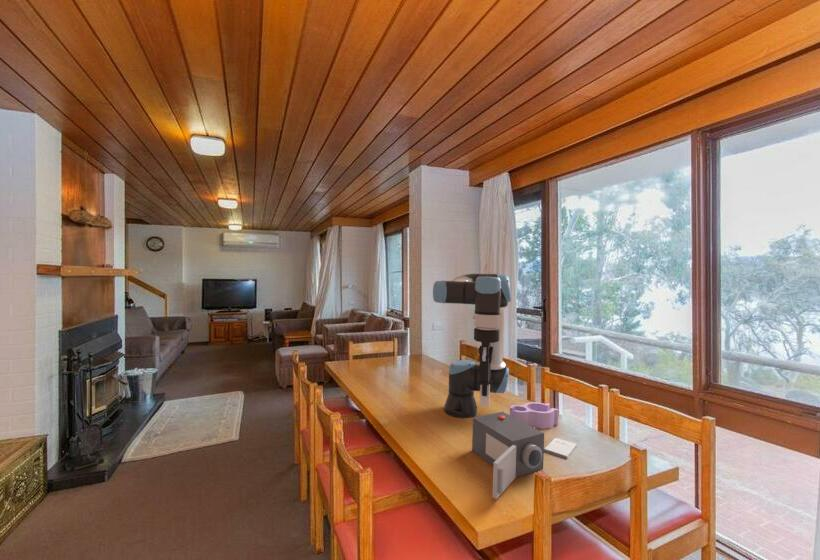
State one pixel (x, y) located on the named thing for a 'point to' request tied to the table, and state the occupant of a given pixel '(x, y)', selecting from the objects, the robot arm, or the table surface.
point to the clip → (536, 414)
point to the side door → (504, 471)
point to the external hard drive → (560, 448)
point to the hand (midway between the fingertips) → (484, 405)
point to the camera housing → (508, 441)
